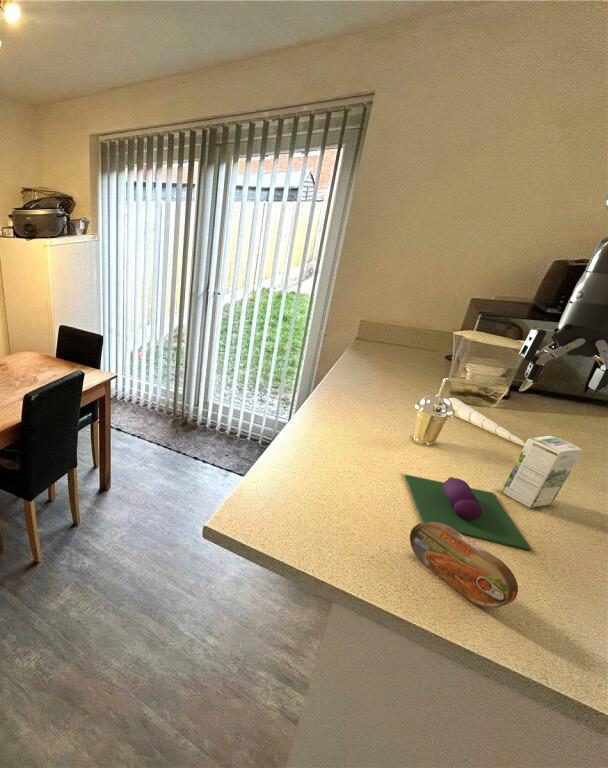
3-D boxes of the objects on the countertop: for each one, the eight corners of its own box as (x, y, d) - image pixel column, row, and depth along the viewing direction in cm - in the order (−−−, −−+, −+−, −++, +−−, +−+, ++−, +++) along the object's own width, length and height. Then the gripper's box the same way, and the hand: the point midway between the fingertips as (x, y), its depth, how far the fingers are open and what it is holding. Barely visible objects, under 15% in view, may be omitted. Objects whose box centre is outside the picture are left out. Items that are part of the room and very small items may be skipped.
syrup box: (520, 488, 89) (548, 433, 83) (552, 506, 84) (584, 448, 78) (500, 492, 88) (526, 436, 83) (531, 509, 83) (562, 451, 77)
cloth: (491, 494, 88) (492, 492, 88) (529, 550, 73) (530, 549, 73) (404, 475, 94) (405, 474, 94) (423, 524, 79) (424, 523, 79)
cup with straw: (420, 431, 113) (443, 367, 105) (453, 447, 105) (480, 379, 97) (396, 435, 111) (418, 370, 104) (428, 452, 103) (454, 383, 95)
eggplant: (462, 489, 88) (465, 472, 87) (483, 526, 78) (488, 508, 76) (437, 485, 90) (440, 469, 89) (454, 522, 80) (458, 504, 78)
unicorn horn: (517, 450, 103) (524, 435, 101) (438, 410, 125) (443, 397, 123) (533, 449, 104) (541, 434, 102) (452, 410, 125) (457, 396, 124)
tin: (403, 548, 74) (416, 513, 71) (416, 545, 75) (430, 510, 71) (493, 621, 60) (515, 582, 57) (509, 616, 61) (531, 577, 58)
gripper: (648, 298, 68) (602, 384, 74) (536, 293, 74) (503, 373, 80) (683, 306, 61) (630, 399, 68) (558, 300, 67) (519, 386, 74)
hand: (561, 385), depth 74 cm, fingers open, 8 cm apart
